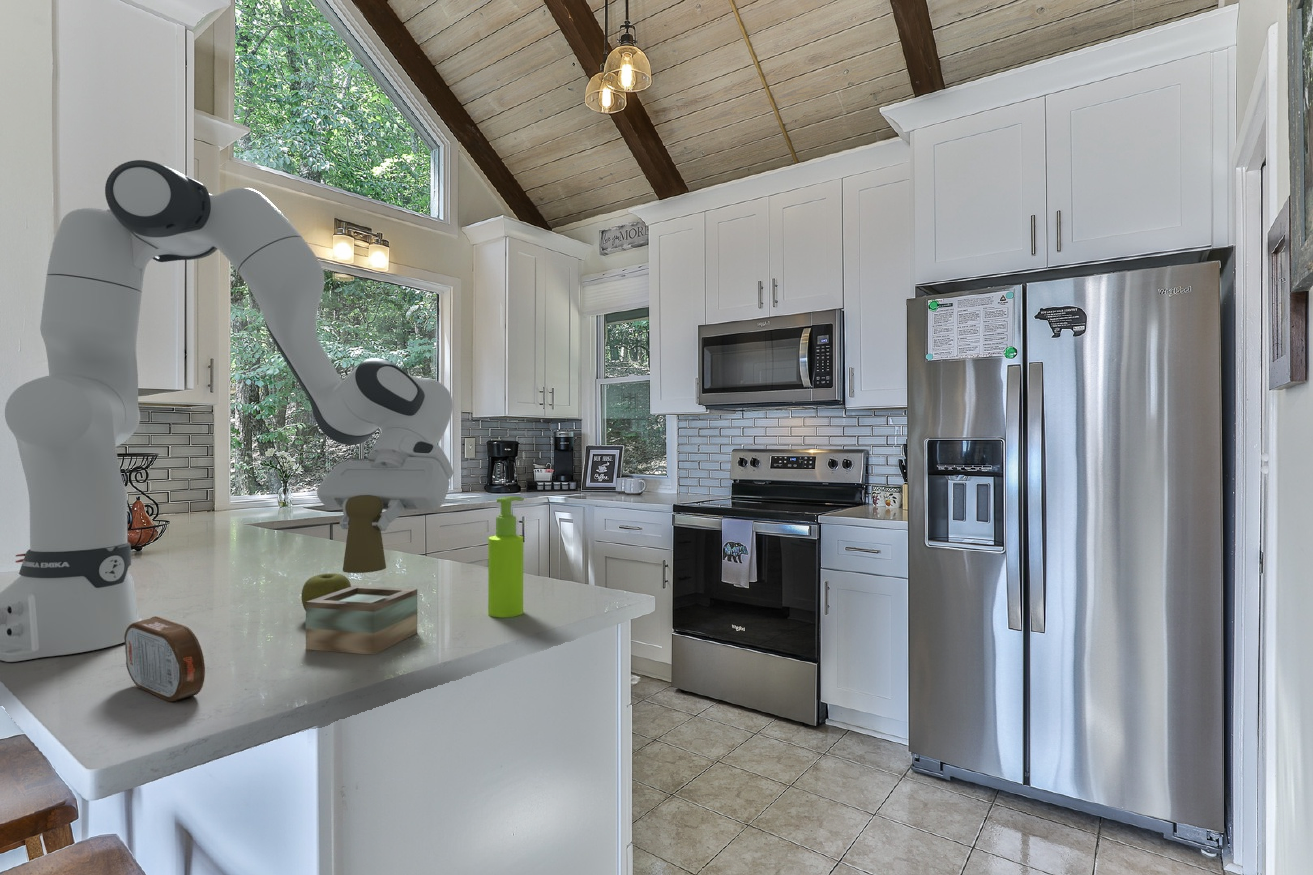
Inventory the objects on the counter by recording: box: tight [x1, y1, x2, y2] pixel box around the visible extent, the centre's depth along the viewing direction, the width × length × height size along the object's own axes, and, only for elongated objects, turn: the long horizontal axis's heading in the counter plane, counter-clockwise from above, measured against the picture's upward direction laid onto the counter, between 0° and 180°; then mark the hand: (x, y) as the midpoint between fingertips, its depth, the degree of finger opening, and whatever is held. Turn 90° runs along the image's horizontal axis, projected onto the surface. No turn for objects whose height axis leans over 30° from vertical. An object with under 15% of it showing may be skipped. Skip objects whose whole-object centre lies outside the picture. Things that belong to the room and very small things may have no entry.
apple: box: [301, 573, 352, 612], centre depth 116 cm, size 8×8×7 cm
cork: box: [342, 495, 387, 574], centre depth 103 cm, size 6×6×11 cm
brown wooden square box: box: [305, 585, 418, 655], centre depth 103 cm, size 11×11×7 cm
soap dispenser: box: [487, 496, 525, 619], centre depth 120 cm, size 6×7×20 cm
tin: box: [124, 616, 206, 702], centre depth 83 cm, size 15×3×8 cm, turn 58°
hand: (361, 527), depth 103 cm, fingers closed on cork, 4 cm apart
